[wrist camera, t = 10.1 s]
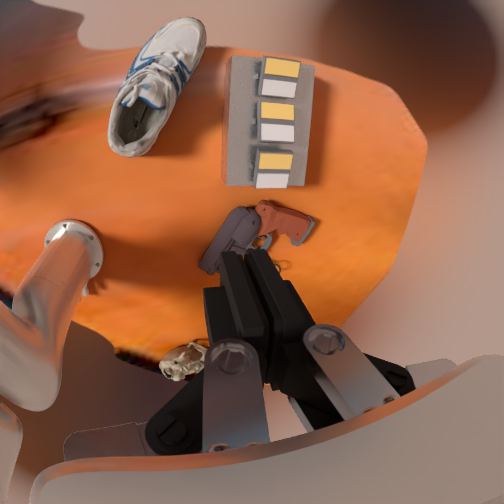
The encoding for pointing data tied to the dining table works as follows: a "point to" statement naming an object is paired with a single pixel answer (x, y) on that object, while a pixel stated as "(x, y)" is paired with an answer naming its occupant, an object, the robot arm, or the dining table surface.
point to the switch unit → (245, 121)
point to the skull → (183, 361)
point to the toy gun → (255, 231)
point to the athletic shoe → (154, 86)
